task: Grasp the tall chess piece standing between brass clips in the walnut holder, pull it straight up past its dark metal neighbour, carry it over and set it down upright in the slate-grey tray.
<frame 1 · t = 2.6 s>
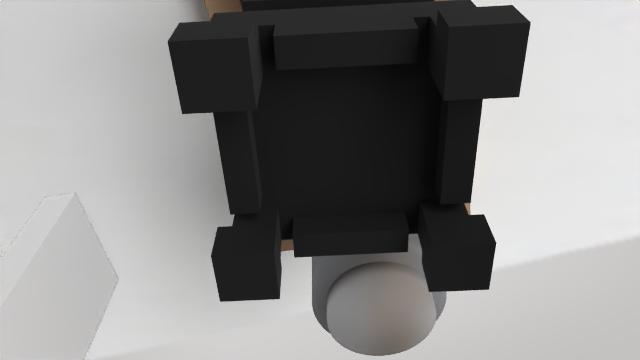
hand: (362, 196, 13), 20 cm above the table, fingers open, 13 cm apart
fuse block: (343, 64, 33), on the table
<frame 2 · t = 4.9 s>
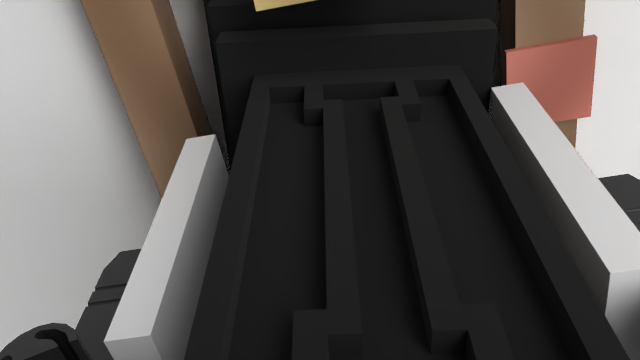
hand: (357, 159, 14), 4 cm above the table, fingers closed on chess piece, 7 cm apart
chess piece: (350, 91, 18), resting in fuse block, touching gripper
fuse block: (371, 219, 20), on the table
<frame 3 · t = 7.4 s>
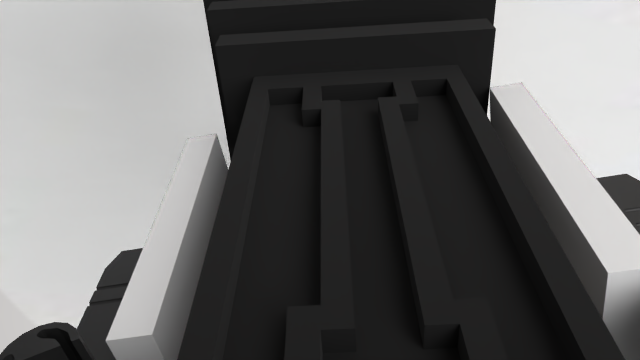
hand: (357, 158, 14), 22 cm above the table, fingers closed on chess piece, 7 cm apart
chess piece: (350, 93, 18), point 18 cm above the table, touching gripper
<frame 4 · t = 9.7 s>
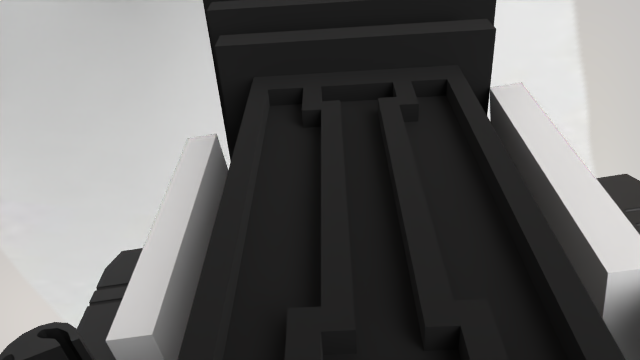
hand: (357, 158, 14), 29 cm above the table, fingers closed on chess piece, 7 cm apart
chess piece: (350, 93, 18), point 24 cm above the table, touching gripper
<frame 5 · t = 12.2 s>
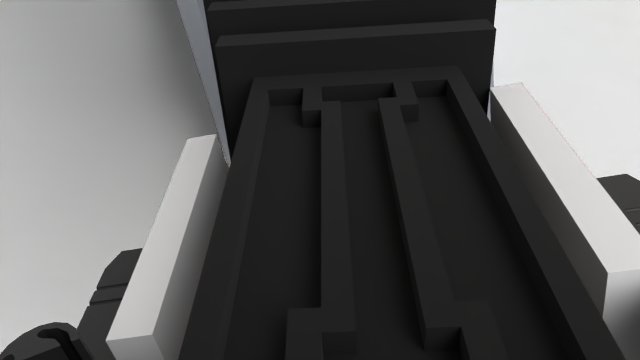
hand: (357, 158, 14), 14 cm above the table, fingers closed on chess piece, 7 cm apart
chess piece: (350, 93, 18), point 9 cm above the table, touching gripper
tray: (336, 7, 26), on the table
when the fingers open (7 cm above the table, at t = 14.4 s): chess piece drops 2 cm, resting on tray.
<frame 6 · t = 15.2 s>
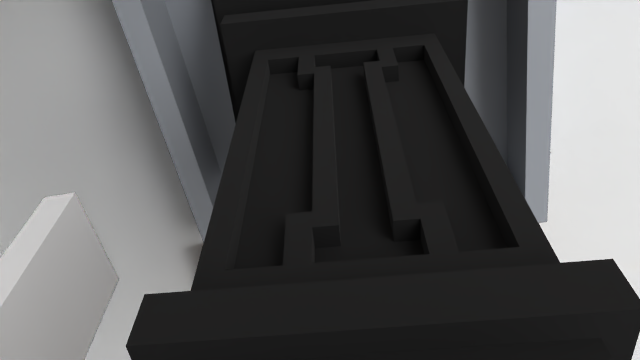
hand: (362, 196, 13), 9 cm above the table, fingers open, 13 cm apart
chess piece: (344, 68, 20), point 1 cm above the table, touching tray
tray: (346, 60, 20), on the table
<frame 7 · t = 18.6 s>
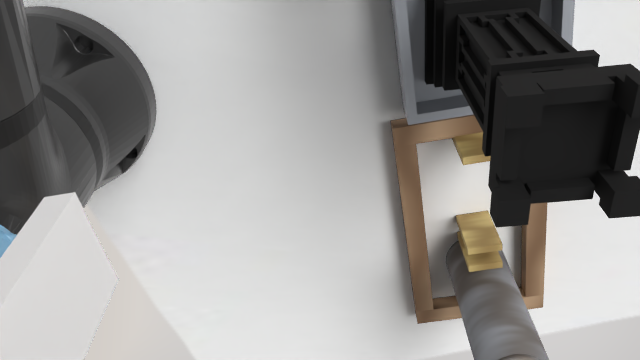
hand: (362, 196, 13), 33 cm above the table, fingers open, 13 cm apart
chess piece: (476, 26, 43), point 1 cm above the table, touching tray
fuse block: (472, 218, 54), on the table
tray: (475, 23, 44), on the table
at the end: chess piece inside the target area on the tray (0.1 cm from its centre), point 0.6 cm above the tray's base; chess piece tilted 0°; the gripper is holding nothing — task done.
